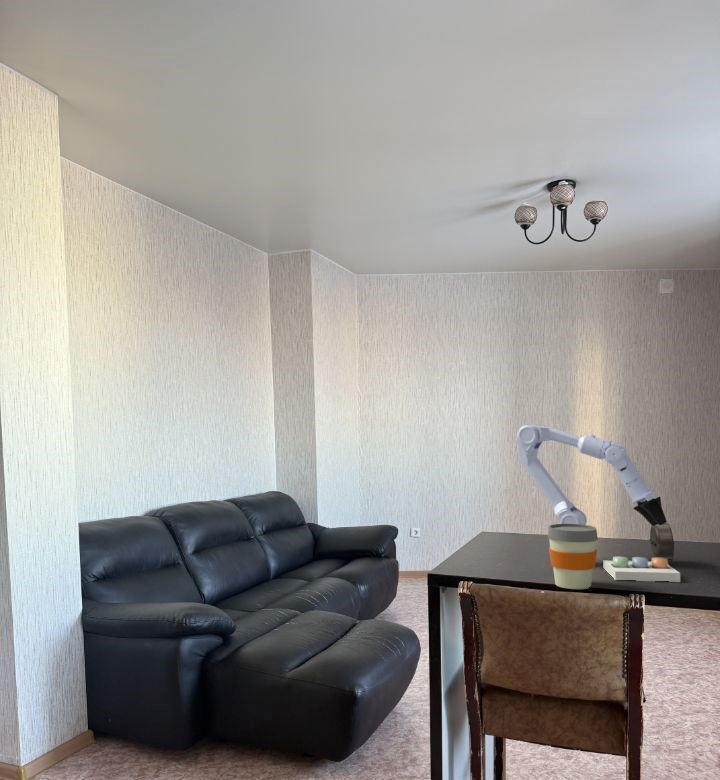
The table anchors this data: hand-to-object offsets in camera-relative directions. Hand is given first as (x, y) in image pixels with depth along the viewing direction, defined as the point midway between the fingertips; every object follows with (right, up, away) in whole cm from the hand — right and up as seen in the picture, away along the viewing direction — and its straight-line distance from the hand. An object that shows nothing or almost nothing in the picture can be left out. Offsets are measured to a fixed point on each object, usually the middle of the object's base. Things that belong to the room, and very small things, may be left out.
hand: (659, 524), depth 193 cm
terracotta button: (-2, -12, -4) cm, 13 cm away
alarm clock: (+5, -14, +11) cm, 19 cm away
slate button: (-7, -12, -4) cm, 14 cm away
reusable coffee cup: (-29, -13, -14) cm, 35 cm away
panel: (-7, -13, -4) cm, 16 cm away
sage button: (-12, -12, -3) cm, 17 cm away
